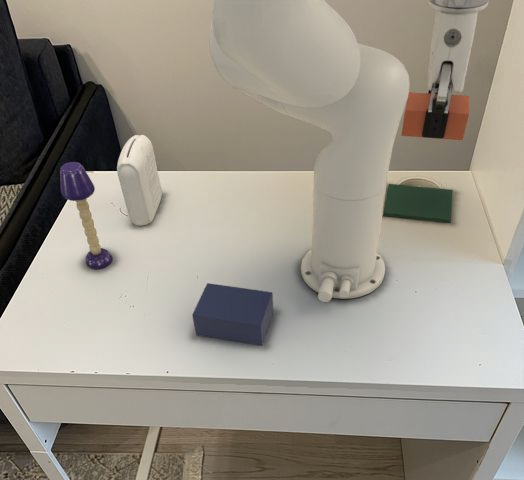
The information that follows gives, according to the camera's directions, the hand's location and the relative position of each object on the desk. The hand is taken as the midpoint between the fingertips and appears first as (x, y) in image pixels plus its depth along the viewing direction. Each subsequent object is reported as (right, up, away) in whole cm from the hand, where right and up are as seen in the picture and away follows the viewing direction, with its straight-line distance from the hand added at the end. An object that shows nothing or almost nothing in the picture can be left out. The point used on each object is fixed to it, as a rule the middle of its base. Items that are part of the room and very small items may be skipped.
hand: (433, 125), depth 83 cm
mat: (+1, -9, +10) cm, 14 cm away
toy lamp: (-52, -20, +4) cm, 56 cm away
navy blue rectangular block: (-30, -31, -7) cm, 44 cm away
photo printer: (-47, -10, +13) cm, 49 cm away
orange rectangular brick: (0, 0, 0) cm, 1 cm away
